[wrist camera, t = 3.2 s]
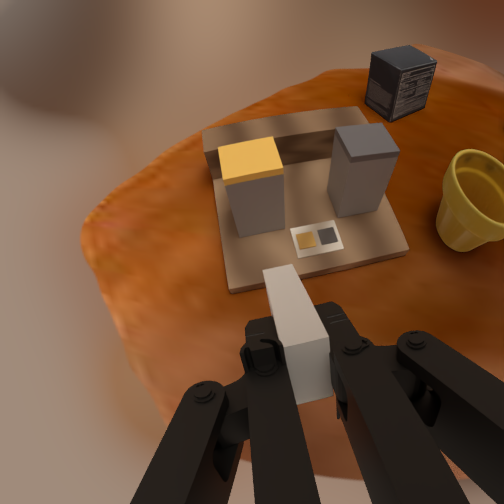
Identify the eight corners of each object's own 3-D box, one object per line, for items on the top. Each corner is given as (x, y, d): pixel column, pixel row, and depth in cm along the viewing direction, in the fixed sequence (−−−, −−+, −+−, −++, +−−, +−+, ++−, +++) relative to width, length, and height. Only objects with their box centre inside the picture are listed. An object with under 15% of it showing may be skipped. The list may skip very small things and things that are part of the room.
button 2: (277, 199, 35) (272, 136, 26) (285, 228, 33) (283, 167, 24) (234, 208, 35) (217, 147, 26) (239, 237, 33) (222, 179, 24)
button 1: (364, 183, 35) (381, 122, 26) (377, 210, 33) (400, 151, 24) (326, 189, 35) (335, 127, 26) (337, 218, 33) (351, 156, 24)
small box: (399, 89, 46) (409, 43, 36) (425, 108, 43) (439, 61, 34) (361, 102, 44) (369, 50, 35) (390, 123, 41) (403, 70, 32)
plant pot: (445, 278, 30) (488, 238, 21) (408, 205, 35) (435, 152, 26) (497, 254, 30) (538, 214, 21) (462, 191, 35) (491, 144, 26)
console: (350, 138, 40) (355, 104, 34) (405, 255, 32) (425, 225, 26) (212, 162, 41) (201, 128, 35) (231, 293, 32) (218, 270, 26)
